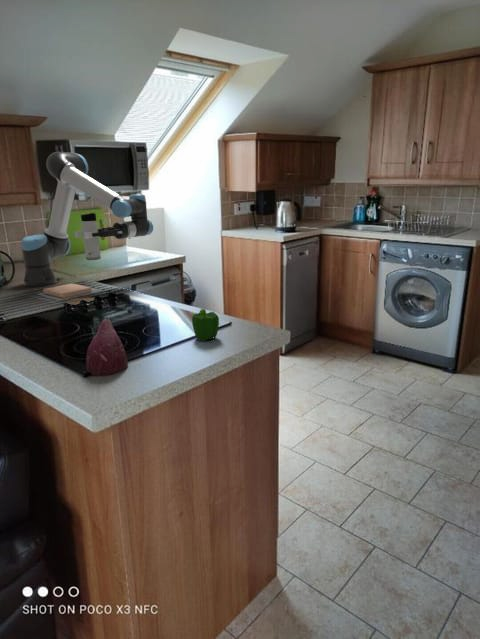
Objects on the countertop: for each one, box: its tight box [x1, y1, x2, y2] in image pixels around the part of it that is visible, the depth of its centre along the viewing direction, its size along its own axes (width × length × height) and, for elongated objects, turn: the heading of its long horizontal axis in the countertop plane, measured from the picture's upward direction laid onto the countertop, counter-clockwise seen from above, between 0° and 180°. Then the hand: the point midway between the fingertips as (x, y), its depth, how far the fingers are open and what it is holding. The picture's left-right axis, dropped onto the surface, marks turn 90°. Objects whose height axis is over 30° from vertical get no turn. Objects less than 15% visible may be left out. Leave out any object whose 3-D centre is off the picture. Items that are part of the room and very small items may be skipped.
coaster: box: [65, 296, 95, 306], centre depth 190 cm, size 12×12×1 cm
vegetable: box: [85, 316, 129, 377], centre depth 122 cm, size 10×10×15 cm
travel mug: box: [80, 212, 102, 261], centre depth 201 cm, size 6×7×20 cm
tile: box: [43, 282, 92, 298], centre depth 206 cm, size 2×16×14 cm
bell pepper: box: [191, 308, 220, 341], centre depth 142 cm, size 8×8×10 cm
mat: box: [36, 287, 105, 301], centre depth 208 cm, size 22×20×1 cm
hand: (80, 235), depth 197 cm, fingers closed on travel mug, 6 cm apart
